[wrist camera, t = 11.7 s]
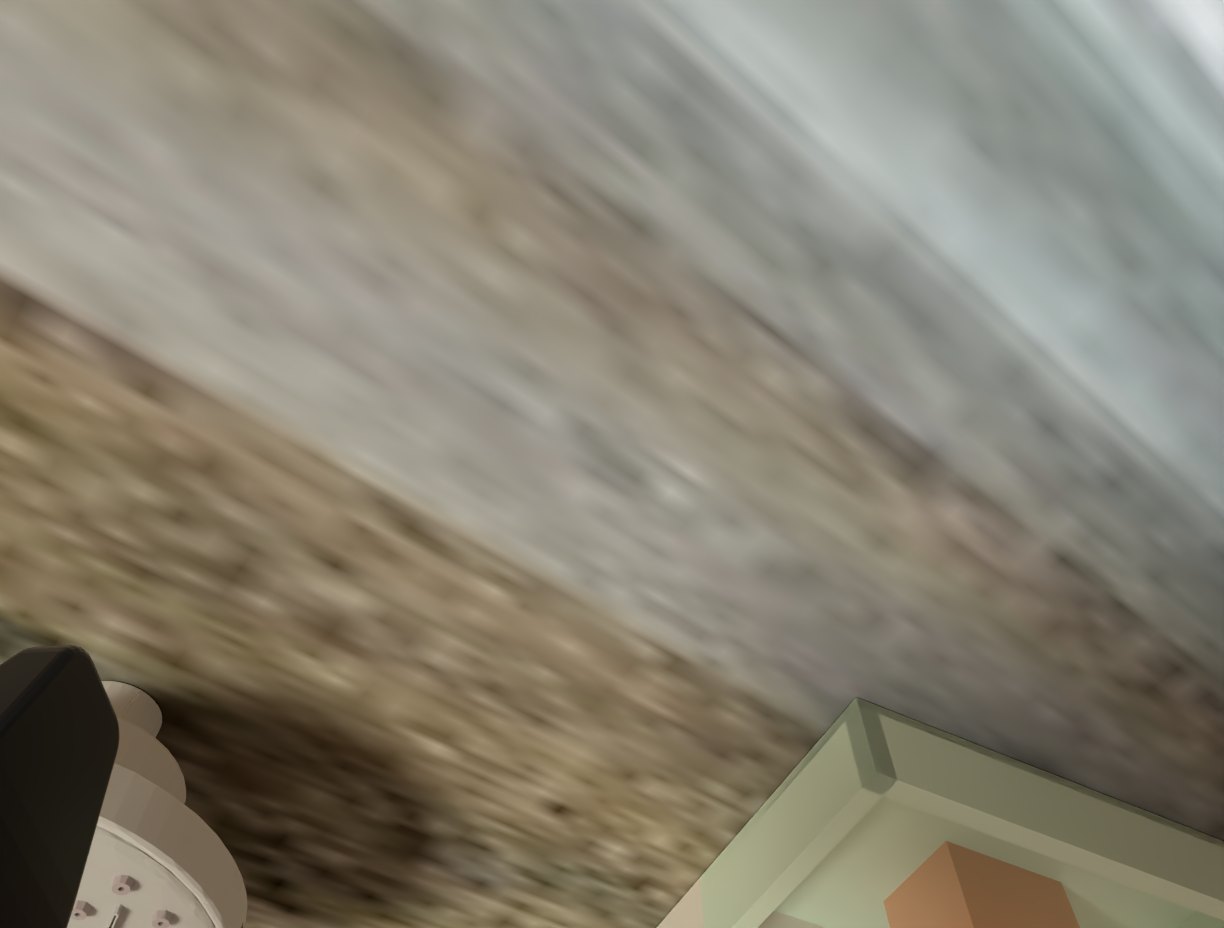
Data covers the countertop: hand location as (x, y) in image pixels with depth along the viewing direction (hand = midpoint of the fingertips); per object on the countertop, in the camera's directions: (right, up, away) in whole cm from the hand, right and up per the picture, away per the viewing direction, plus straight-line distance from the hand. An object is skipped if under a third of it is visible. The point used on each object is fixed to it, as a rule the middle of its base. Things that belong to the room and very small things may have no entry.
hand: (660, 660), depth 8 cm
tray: (+10, -10, +22) cm, 26 cm away
